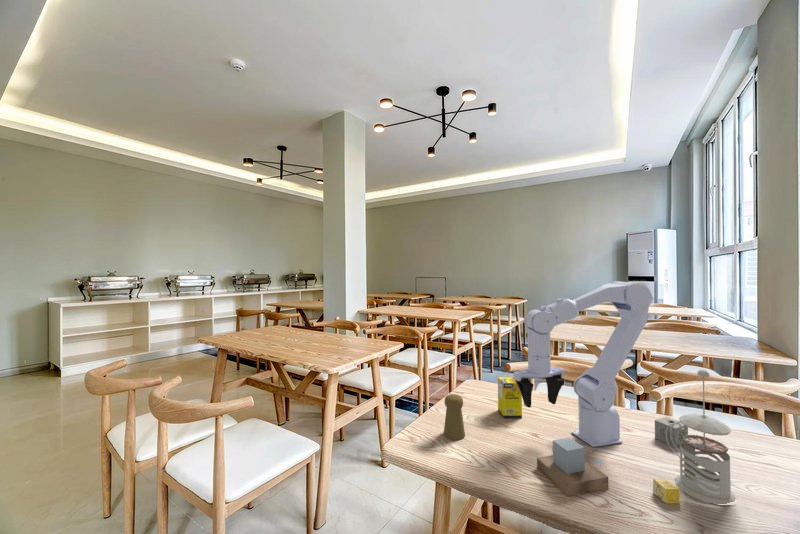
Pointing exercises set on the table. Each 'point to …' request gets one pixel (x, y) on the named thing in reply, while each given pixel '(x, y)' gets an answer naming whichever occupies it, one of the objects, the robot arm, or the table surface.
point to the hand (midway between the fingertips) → (539, 404)
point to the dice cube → (675, 432)
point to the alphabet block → (666, 491)
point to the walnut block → (573, 477)
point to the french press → (704, 458)
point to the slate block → (568, 455)
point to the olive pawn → (454, 418)
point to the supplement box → (509, 398)
